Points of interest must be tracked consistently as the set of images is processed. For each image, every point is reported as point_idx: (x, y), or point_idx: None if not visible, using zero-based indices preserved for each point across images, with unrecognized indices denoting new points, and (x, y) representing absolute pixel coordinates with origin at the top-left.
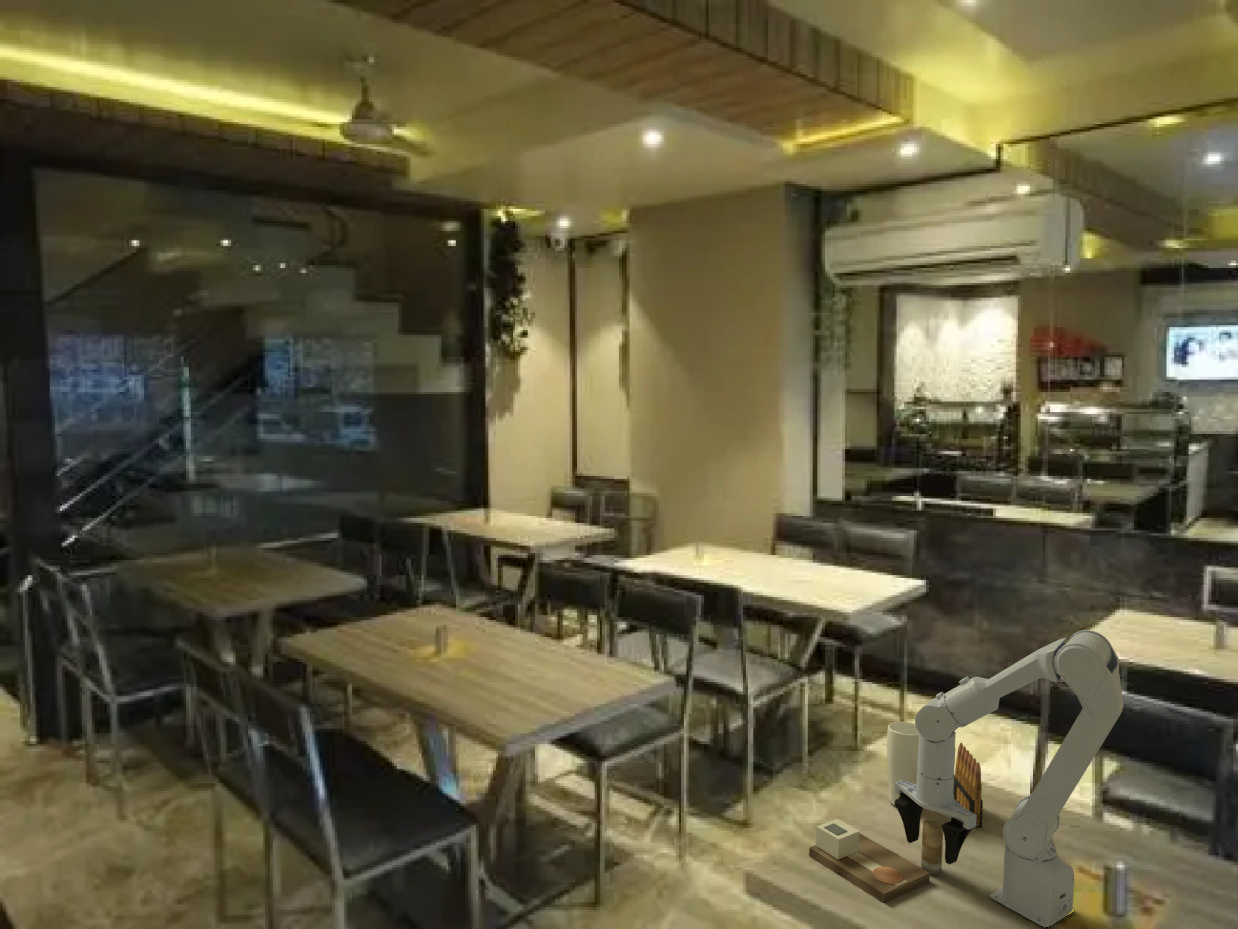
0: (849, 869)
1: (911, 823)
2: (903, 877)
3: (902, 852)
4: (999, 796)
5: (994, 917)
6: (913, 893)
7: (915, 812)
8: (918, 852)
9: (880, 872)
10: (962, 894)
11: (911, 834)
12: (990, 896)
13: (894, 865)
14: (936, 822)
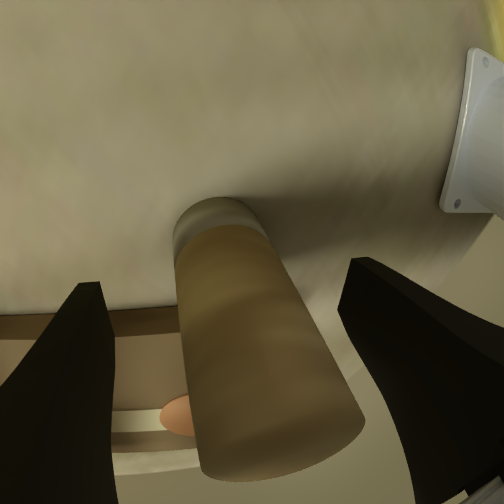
0: (135, 449)
1: (97, 428)
2: None
3: (46, 237)
4: None
5: (452, 263)
6: None
7: (83, 485)
8: (71, 170)
9: (185, 424)
10: (373, 256)
11: (107, 368)
12: (442, 208)
13: (168, 383)
14: (288, 434)
